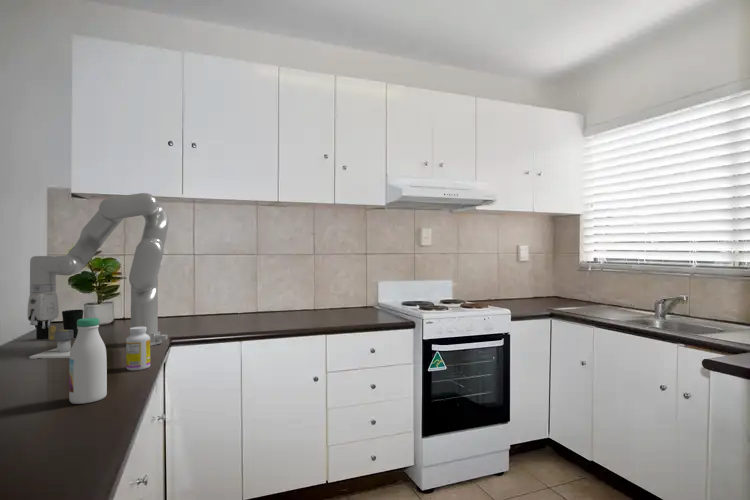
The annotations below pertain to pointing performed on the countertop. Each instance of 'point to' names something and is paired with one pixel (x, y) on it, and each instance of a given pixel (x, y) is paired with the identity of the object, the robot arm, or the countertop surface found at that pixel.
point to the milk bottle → (87, 364)
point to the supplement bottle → (138, 349)
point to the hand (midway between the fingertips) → (42, 338)
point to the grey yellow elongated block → (60, 334)
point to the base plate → (56, 351)
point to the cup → (72, 320)
